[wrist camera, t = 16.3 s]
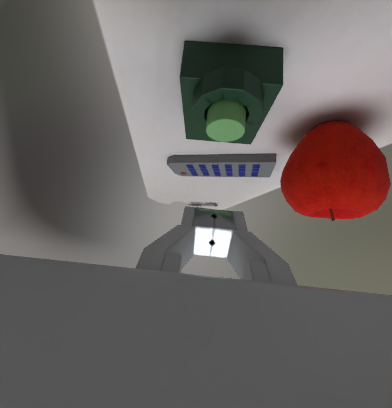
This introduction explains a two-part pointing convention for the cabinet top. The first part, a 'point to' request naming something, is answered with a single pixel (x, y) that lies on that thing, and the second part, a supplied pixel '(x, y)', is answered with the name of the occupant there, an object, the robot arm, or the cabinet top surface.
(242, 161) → the remote control
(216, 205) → the pen
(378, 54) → the cabinet top surface
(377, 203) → the apple
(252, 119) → the button base
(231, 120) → the light green button cap
